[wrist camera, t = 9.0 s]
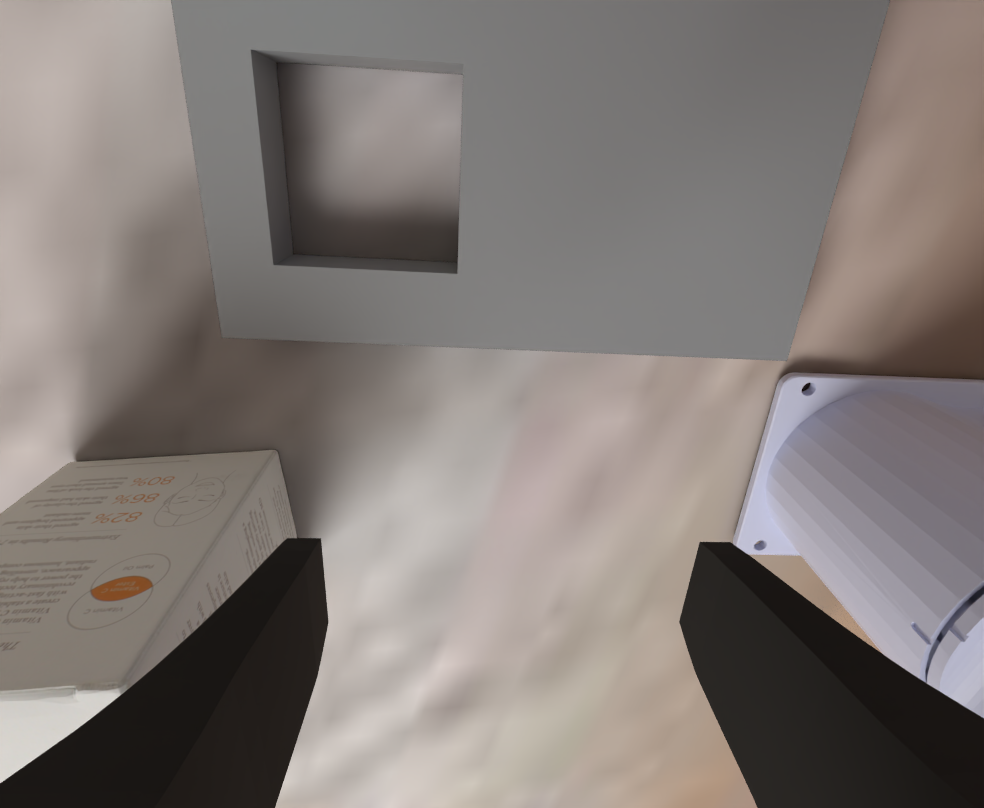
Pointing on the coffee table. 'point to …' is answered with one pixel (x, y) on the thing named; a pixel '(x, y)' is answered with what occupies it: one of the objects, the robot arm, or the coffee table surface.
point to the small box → (120, 578)
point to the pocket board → (548, 169)
